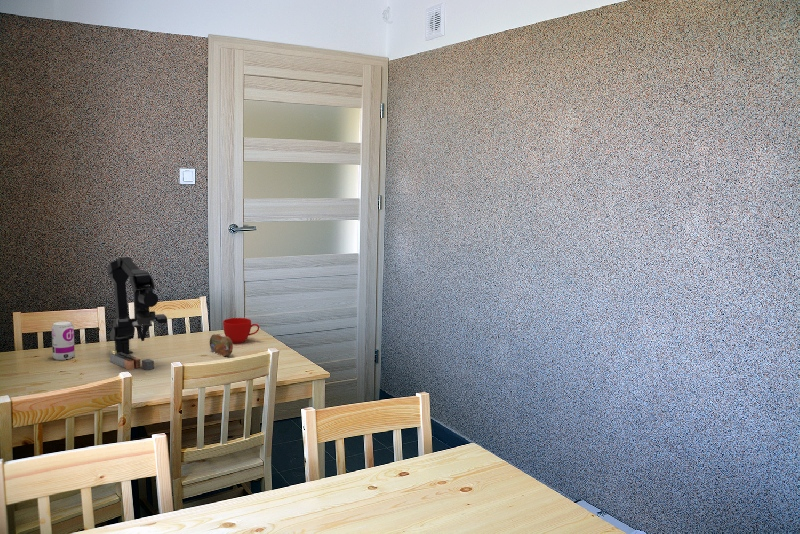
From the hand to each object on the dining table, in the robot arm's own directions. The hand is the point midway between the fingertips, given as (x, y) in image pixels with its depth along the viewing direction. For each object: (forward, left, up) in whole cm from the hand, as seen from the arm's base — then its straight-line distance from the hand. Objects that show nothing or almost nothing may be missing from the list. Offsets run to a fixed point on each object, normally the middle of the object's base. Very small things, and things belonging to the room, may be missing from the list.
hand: (142, 340), depth 275 cm
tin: (+6, +34, -11) cm, 36 cm away
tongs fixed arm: (-8, -5, -11) cm, 14 cm away
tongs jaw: (-6, -3, -10) cm, 12 cm away
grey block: (+4, 0, -11) cm, 11 cm away
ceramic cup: (-5, +53, -11) cm, 54 cm away
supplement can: (-33, -17, -11) cm, 39 cm away
